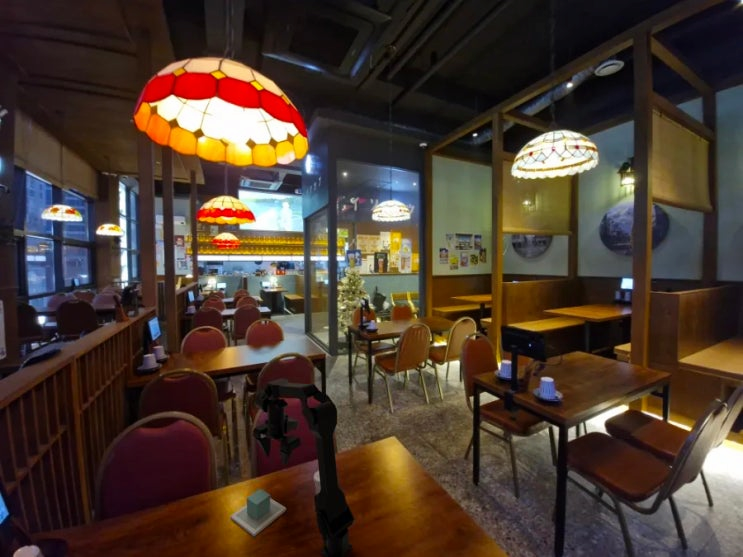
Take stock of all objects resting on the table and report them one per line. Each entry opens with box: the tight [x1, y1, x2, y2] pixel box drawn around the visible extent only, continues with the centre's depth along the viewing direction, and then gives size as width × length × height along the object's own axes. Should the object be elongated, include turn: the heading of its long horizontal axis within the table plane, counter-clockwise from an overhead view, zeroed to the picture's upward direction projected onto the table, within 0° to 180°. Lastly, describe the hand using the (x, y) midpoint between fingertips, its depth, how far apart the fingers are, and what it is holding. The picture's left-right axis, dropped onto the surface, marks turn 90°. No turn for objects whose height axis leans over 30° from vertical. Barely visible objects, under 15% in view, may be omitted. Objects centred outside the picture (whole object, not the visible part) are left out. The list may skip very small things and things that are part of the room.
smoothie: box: [313, 470, 321, 495], centre depth 105 cm, size 6×6×14 cm
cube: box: [246, 488, 271, 520], centre depth 100 cm, size 5×5×5 cm
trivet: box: [229, 497, 287, 537], centre depth 100 cm, size 12×12×1 cm
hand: (276, 461), depth 108 cm, fingers open, 9 cm apart
